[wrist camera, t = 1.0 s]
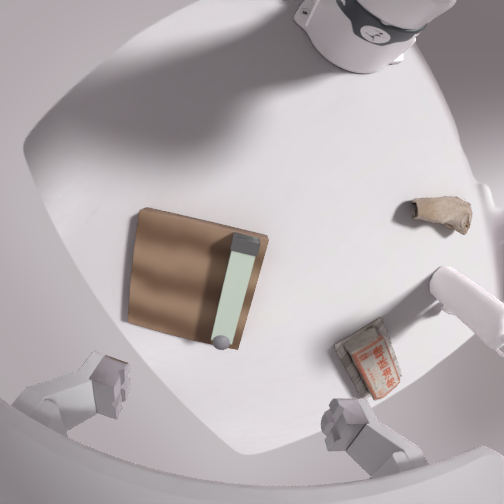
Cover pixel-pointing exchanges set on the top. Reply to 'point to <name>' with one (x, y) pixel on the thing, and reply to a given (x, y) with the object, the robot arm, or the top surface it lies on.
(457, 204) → the bone fragment
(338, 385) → the top surface
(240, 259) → the hinged leg
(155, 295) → the stool seat
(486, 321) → the fire extinguisher
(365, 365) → the packaged product
